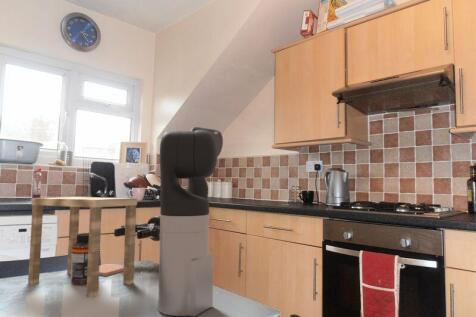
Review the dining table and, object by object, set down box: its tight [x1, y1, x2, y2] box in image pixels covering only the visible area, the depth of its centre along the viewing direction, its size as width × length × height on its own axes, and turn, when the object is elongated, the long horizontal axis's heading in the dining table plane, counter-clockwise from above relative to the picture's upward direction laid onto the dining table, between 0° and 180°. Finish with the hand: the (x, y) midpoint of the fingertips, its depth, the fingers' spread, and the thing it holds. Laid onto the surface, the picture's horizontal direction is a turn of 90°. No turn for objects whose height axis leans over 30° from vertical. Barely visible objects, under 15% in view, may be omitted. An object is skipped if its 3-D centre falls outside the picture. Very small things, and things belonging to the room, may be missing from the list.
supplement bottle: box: [70, 232, 89, 286], centre depth 79 cm, size 6×6×11 cm
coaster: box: [99, 263, 124, 277], centre depth 90 cm, size 8×8×1 cm
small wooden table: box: [27, 196, 138, 298], centre depth 79 cm, size 22×12×20 cm, turn 63°
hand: (126, 233), depth 91 cm, fingers open, 8 cm apart
